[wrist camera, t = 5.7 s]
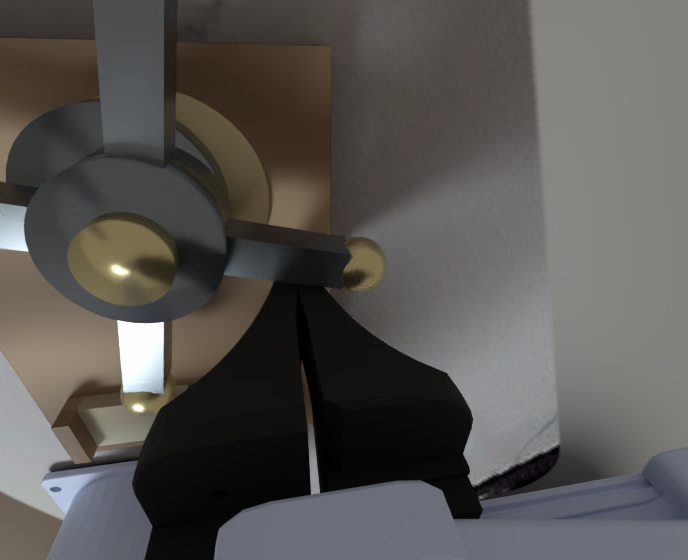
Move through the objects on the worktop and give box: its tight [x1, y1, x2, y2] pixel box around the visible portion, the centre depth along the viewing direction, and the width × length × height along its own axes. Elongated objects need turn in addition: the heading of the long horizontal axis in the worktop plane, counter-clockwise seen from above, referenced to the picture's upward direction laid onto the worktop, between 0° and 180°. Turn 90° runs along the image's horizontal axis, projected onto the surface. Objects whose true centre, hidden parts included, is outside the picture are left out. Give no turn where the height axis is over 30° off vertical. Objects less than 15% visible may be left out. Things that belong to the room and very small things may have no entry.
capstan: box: [0, 0, 387, 416], centre depth 9 cm, size 13×13×4 cm
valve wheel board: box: [0, 38, 331, 464], centre depth 13 cm, size 16×12×4 cm
